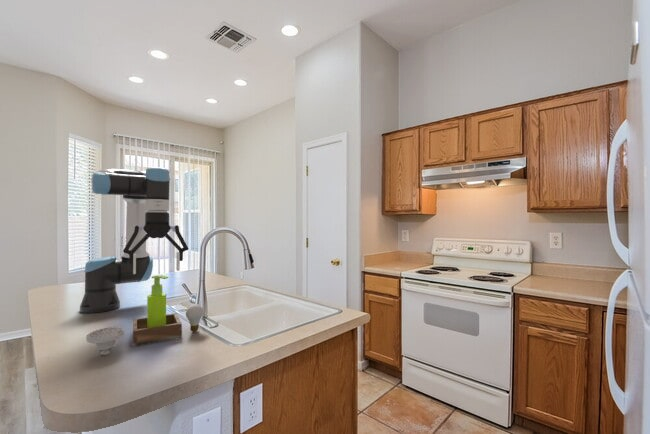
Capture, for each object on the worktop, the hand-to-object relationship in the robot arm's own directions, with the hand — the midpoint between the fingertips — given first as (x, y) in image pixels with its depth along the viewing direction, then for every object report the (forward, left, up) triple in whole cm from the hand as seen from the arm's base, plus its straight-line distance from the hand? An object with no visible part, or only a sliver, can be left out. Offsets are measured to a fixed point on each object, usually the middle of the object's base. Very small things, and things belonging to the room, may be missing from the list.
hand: (156, 271), depth 111 cm
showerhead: (+9, -14, -23) cm, 28 cm away
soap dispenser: (0, 0, -22) cm, 22 cm away
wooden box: (0, 0, -22) cm, 22 cm away
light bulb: (+3, +12, -23) cm, 26 cm away
